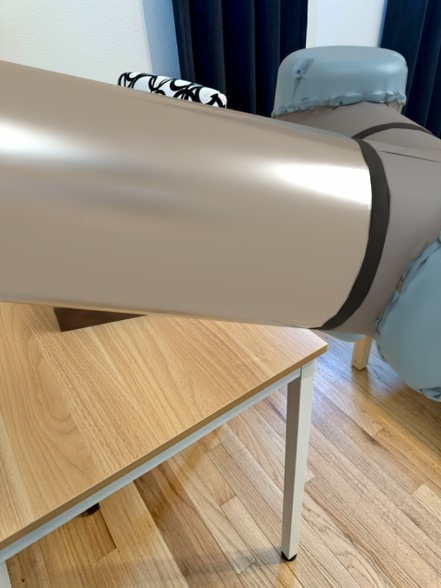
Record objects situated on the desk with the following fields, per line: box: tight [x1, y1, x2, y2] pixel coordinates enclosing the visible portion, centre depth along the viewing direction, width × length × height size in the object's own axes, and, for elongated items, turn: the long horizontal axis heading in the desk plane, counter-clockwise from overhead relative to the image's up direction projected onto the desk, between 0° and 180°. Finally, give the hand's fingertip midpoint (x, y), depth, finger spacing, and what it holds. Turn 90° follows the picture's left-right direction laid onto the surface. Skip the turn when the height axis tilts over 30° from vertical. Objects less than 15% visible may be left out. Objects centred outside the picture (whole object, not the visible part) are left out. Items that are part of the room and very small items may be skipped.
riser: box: [52, 307, 146, 333], centre depth 77 cm, size 16×14×5 cm
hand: (98, 175), depth 52 cm, fingers open, 13 cm apart
